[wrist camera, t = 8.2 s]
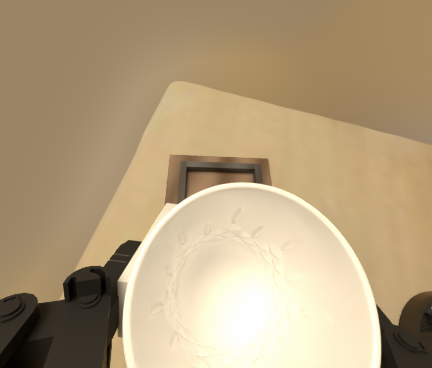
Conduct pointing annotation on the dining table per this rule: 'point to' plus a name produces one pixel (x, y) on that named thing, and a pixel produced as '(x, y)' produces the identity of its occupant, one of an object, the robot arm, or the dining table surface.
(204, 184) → the dock board
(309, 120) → the dining table surface
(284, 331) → the white cup
